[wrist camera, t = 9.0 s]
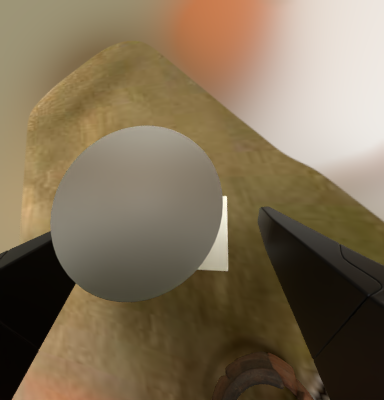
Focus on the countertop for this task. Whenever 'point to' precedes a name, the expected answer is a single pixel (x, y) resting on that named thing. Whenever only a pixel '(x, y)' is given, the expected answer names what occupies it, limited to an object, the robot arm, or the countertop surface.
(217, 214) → the beige cylinder grey cap
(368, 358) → the robot arm
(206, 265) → the off-white pad
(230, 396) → the pottery mug
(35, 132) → the countertop surface
